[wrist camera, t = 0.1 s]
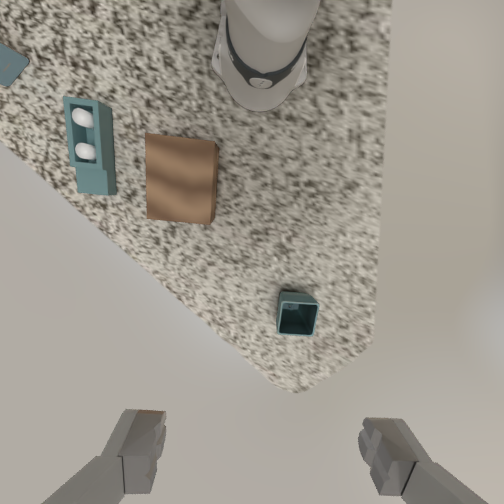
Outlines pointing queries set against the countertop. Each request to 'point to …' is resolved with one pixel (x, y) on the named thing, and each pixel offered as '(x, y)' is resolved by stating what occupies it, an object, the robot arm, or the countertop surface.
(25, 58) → the smartphone
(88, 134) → the tray
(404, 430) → the robot arm
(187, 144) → the nook
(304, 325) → the flower pot
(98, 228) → the countertop surface
